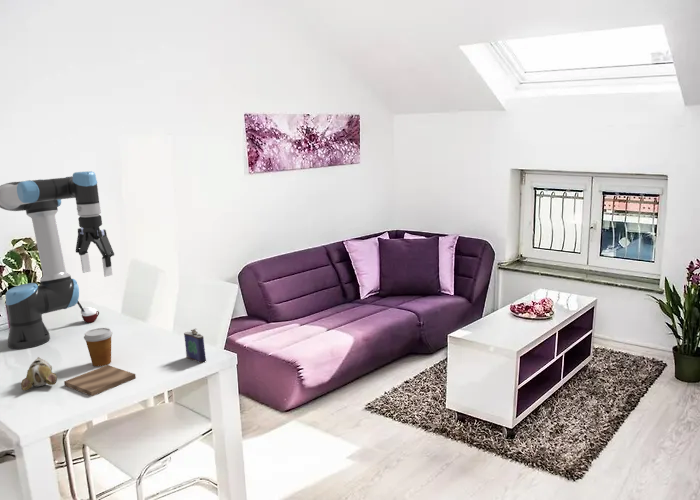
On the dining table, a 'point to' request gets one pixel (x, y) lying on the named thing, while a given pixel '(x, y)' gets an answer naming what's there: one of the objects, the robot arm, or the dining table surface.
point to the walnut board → (99, 380)
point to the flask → (195, 346)
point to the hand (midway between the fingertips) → (97, 273)
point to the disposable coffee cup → (99, 346)
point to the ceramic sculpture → (39, 375)
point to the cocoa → (88, 313)
